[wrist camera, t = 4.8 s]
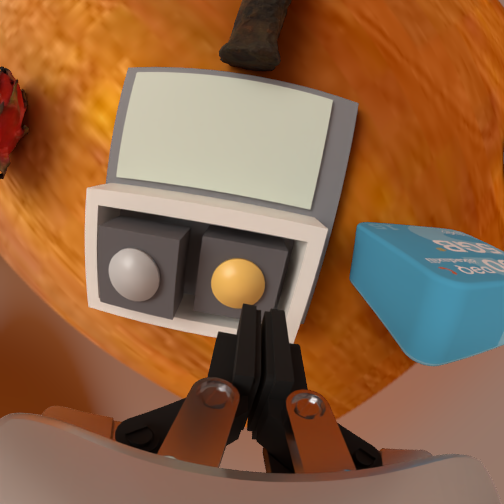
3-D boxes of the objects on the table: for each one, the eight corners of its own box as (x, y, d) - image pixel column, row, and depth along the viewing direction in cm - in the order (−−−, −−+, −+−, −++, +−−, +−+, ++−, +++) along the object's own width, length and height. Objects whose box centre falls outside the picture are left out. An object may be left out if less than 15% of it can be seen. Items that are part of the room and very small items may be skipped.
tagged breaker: (282, 237, 19) (288, 253, 15) (266, 301, 20) (269, 326, 17) (210, 224, 18) (202, 237, 15) (200, 290, 20) (192, 312, 17)
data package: (457, 229, 20) (550, 276, 9) (448, 273, 21) (528, 335, 10) (350, 220, 20) (449, 286, 8) (343, 275, 21) (415, 373, 10)
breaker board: (353, 105, 17) (379, 93, 13) (301, 317, 22) (311, 350, 18) (133, 71, 16) (107, 53, 11) (108, 280, 21) (83, 305, 17)
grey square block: (191, 227, 17) (178, 242, 14) (183, 296, 18) (171, 322, 15) (120, 215, 16) (96, 226, 13) (118, 282, 18) (98, 303, 15)
